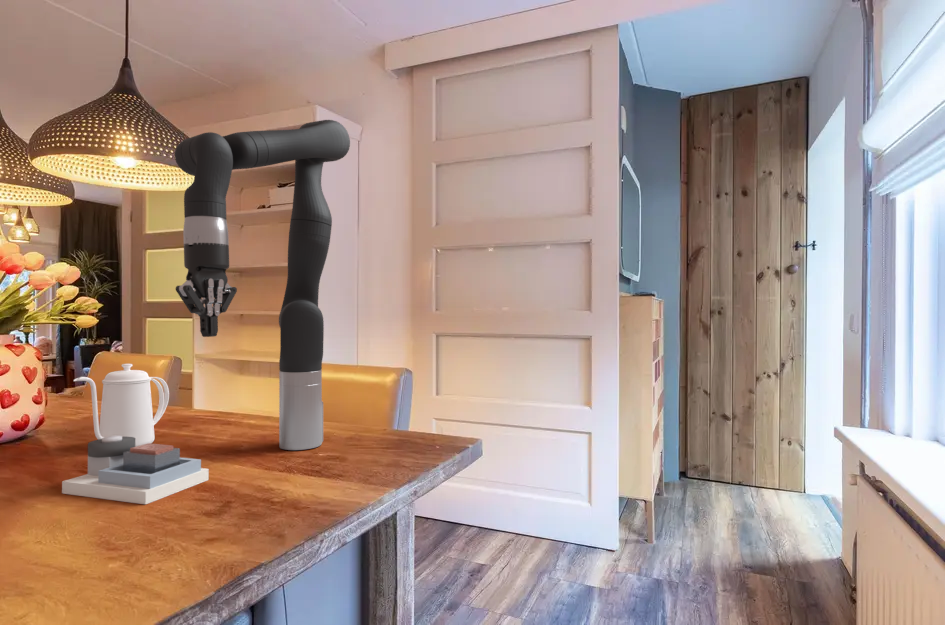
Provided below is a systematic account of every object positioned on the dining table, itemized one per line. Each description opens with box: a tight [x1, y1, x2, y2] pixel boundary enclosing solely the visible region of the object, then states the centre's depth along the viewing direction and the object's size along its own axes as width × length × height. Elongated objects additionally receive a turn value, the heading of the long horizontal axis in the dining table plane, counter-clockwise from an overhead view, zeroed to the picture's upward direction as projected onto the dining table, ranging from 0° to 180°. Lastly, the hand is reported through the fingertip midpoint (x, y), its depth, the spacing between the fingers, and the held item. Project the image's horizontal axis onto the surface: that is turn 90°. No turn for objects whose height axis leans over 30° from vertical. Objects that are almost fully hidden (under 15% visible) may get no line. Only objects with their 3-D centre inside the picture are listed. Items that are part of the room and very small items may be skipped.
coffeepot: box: [73, 363, 170, 447], centre depth 121 cm, size 11×25×19 cm, turn 168°
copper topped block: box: [123, 443, 181, 474], centre depth 92 cm, size 5×7×5 cm
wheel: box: [87, 436, 135, 458], centre depth 95 cm, size 7×7×6 cm
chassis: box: [61, 455, 210, 505], centre depth 93 cm, size 13×18×6 cm
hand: (209, 336), depth 99 cm, fingers closed
